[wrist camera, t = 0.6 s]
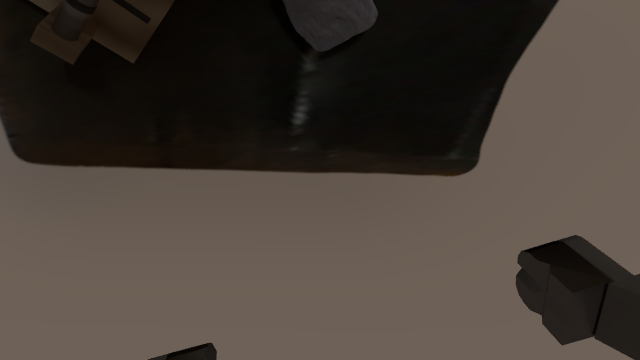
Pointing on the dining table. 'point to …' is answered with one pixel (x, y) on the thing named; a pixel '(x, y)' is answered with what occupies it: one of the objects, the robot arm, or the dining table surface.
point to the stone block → (330, 20)
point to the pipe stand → (98, 25)
